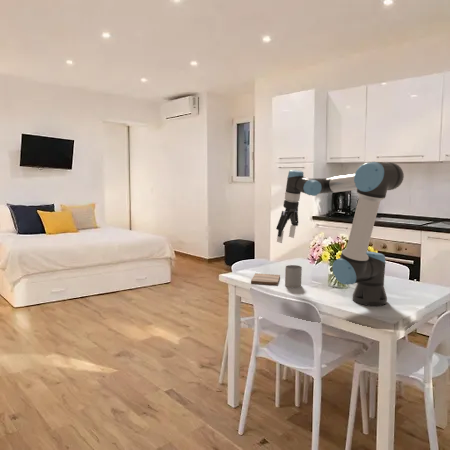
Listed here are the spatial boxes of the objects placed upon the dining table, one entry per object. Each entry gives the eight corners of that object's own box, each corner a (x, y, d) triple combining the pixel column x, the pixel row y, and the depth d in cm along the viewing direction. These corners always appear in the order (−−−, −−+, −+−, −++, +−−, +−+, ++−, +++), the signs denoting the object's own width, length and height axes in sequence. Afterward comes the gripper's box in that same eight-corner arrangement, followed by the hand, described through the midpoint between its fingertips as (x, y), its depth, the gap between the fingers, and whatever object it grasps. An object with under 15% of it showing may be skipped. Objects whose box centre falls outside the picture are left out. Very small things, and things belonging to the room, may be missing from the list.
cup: (300, 288, 218) (301, 269, 217) (284, 287, 220) (285, 268, 218) (301, 284, 226) (301, 265, 225) (285, 283, 228) (286, 264, 226)
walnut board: (277, 285, 224) (277, 282, 223) (251, 283, 226) (251, 280, 226) (280, 277, 239) (280, 274, 239) (255, 275, 242) (255, 273, 242)
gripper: (296, 196, 230) (290, 233, 236) (273, 201, 210) (267, 242, 216) (308, 199, 226) (302, 236, 232) (286, 205, 206) (280, 246, 212)
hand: (285, 239), depth 224 cm, fingers open, 13 cm apart
